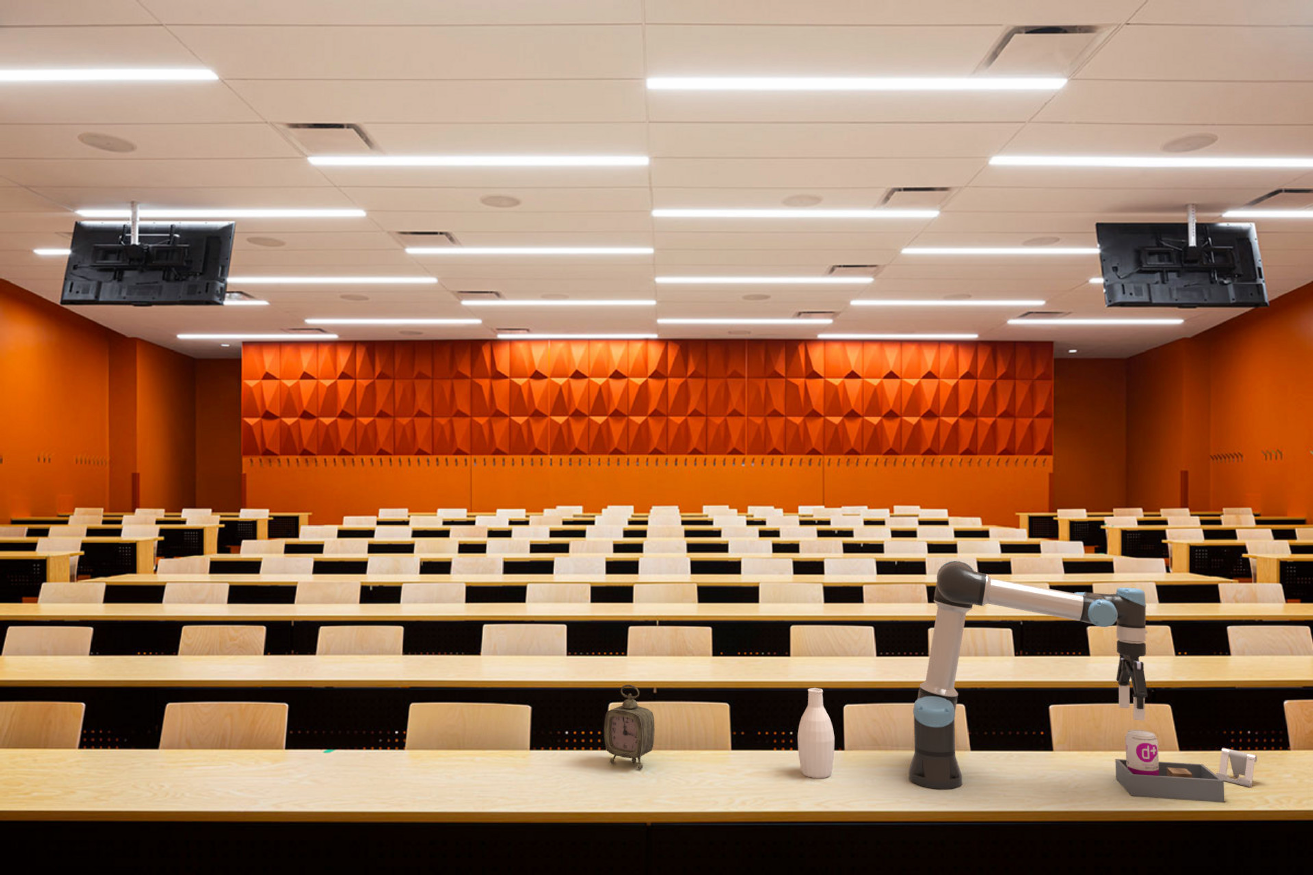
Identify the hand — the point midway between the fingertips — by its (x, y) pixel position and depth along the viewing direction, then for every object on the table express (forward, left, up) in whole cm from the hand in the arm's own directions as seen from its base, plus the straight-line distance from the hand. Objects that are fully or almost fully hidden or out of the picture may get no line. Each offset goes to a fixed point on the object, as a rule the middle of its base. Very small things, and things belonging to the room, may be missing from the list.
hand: (1131, 713), depth 254 cm
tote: (+9, -2, -21) cm, 23 cm away
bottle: (-91, -8, -21) cm, 94 cm away
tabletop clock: (-149, -11, -21) cm, 151 cm away
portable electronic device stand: (+32, +11, -21) cm, 40 cm away
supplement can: (+2, -2, -20) cm, 20 cm away
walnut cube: (+12, -2, -20) cm, 23 cm away
